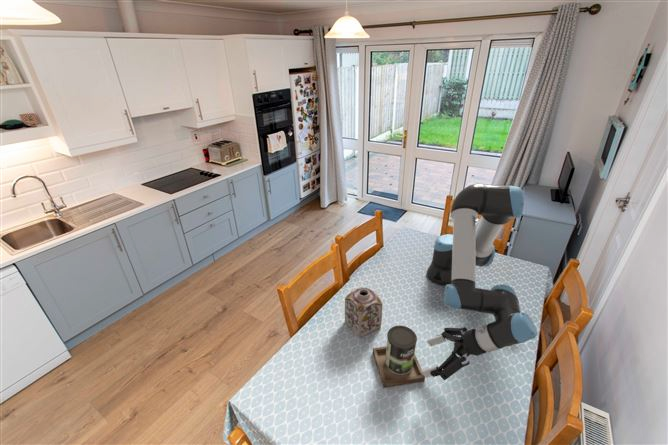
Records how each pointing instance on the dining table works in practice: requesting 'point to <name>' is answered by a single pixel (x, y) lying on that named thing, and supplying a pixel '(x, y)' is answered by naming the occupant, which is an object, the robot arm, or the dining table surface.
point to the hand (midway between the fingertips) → (426, 357)
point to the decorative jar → (363, 311)
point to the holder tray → (394, 379)
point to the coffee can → (400, 349)
